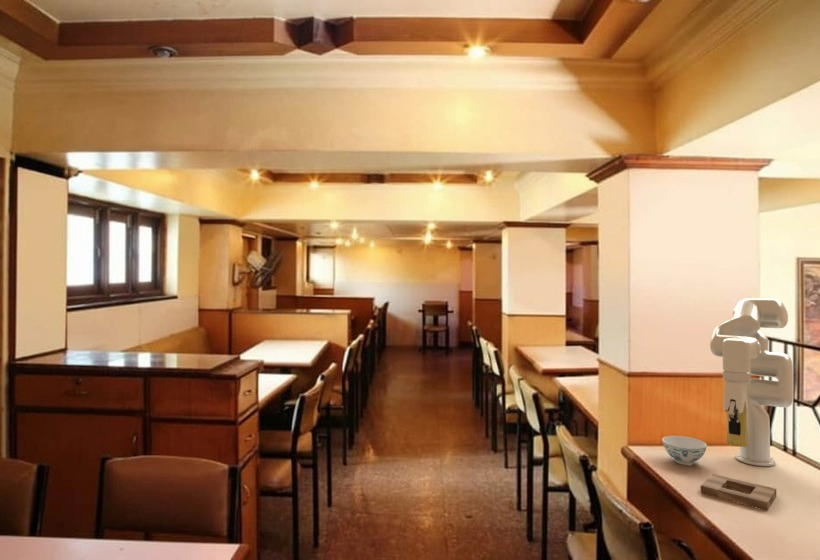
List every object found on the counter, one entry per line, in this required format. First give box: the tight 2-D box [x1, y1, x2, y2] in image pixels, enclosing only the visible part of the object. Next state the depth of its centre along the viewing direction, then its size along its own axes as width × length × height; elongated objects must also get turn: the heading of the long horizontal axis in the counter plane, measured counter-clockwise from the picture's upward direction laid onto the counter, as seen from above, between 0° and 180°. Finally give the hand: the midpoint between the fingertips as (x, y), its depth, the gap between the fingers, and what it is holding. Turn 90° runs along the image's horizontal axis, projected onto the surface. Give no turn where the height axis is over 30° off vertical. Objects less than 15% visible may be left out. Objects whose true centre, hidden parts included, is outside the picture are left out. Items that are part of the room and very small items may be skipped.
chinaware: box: [661, 435, 708, 466], centre depth 190 cm, size 15×15×8 cm
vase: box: [725, 401, 748, 448], centre depth 160 cm, size 6×6×14 cm
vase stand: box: [700, 473, 777, 511], centre depth 160 cm, size 14×18×2 cm
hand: (737, 431), depth 160 cm, fingers closed on vase, 5 cm apart
